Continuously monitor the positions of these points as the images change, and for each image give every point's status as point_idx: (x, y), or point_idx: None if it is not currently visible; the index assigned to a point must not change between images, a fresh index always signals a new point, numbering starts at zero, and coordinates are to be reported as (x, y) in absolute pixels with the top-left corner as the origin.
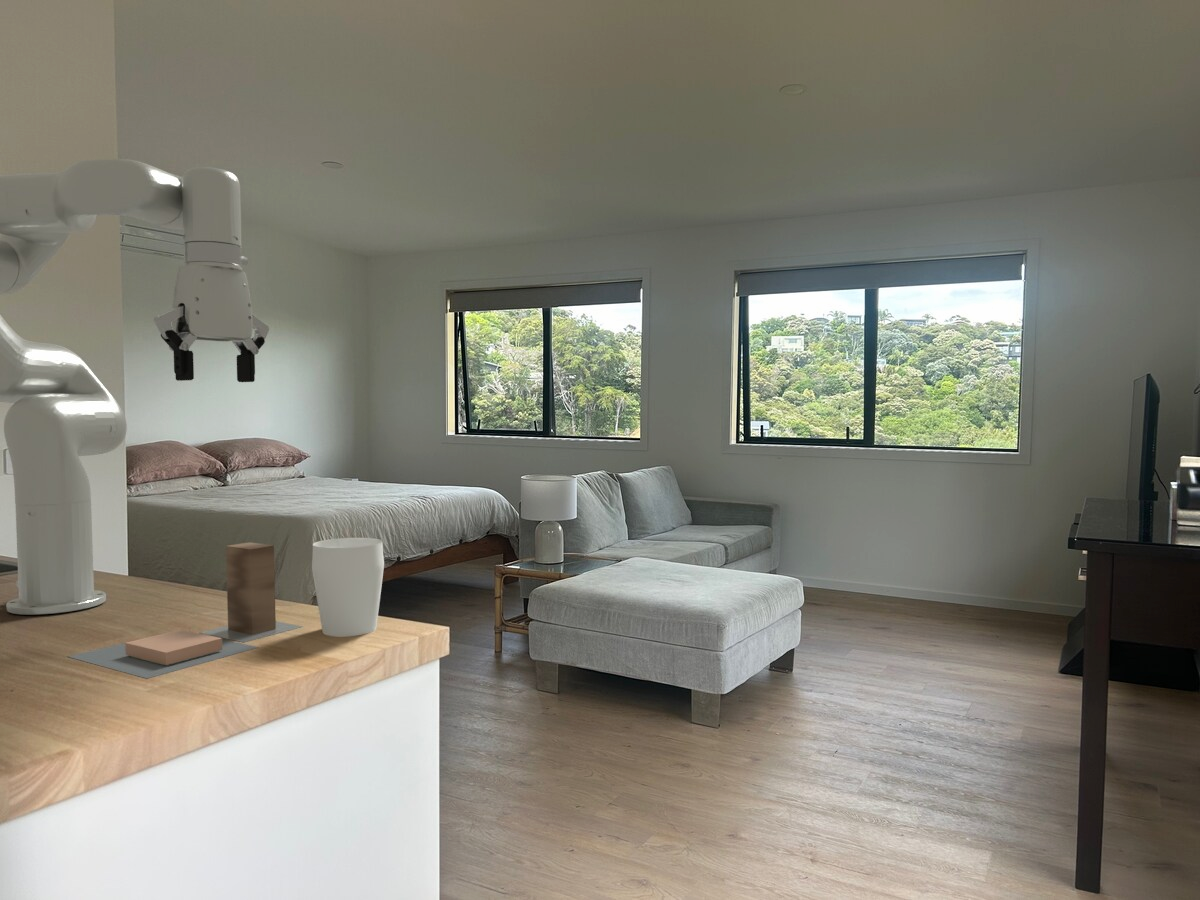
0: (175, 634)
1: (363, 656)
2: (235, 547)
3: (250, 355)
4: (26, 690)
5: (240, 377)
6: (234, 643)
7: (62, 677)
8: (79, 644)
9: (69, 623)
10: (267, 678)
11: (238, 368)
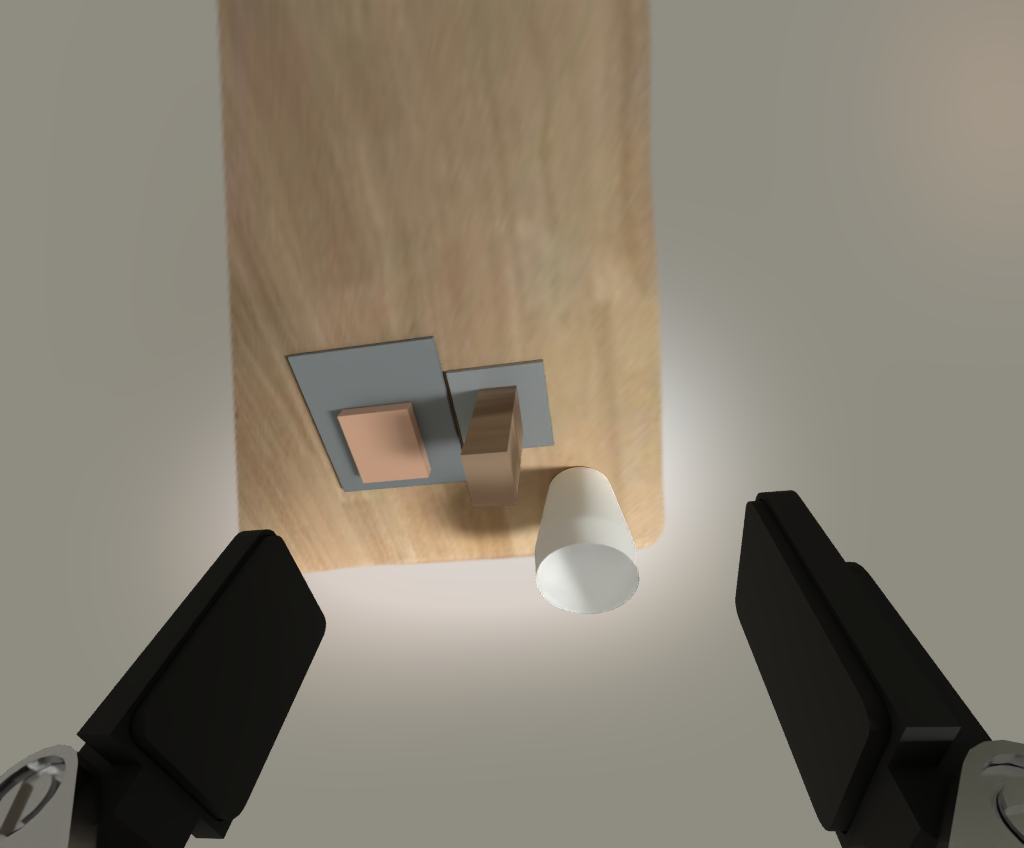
0: (394, 425)
1: (533, 556)
2: (465, 476)
3: (841, 833)
4: (248, 425)
5: (755, 549)
6: (455, 450)
7: (281, 410)
8: (312, 277)
9: (315, 96)
10: (435, 545)
11: (790, 599)
